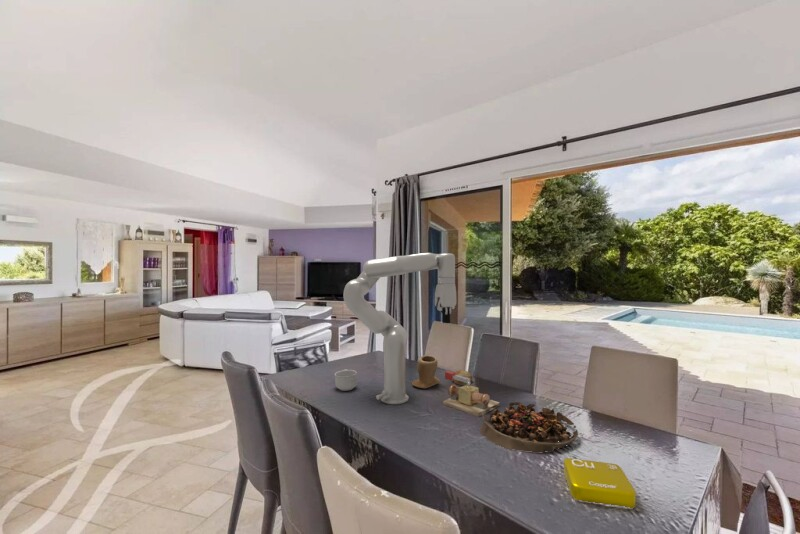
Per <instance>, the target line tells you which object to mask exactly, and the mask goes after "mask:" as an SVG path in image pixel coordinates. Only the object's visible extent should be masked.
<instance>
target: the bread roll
mask: <svg viewBox="0 0 800 534" xmlns="http://www.w3.org/2000/svg"><path fill="white" fill-rule="evenodd" d="M455 373H456V375H459V376H462V377H466V378H470V385H472V383H473V380H474V379H473V376H472V374H471V373H470V372H469V371H467V370H463V369H459V370H458V371H455ZM452 382H453V383H452V384H454V385H456V386H458V385H459V386H465V385H467V383H465V382H462V381H458V380H453V381H452Z"/></svg>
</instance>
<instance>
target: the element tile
mask: <svg viewBox="0 0 800 534" xmlns="http://www.w3.org/2000/svg"><path fill="white" fill-rule="evenodd" d="M564 473H565V475H564V478H565V477H566V478H565V481H566V480H567V482H566V484H567V483H568V485H567V487H568V486H569V488H568V490H569V489H570V491H569V494H570V493H571V494H570V496H571V495H572V496H573V497H574V498H575V499H577V500H582V501H588V502H595V503H604V504H611V505H619V506H625V507H630V508H633V507H635V508H636V503H637V502H636V496H637V495H636V494H637V493H636V490H635V488H634V487H633V486H632V483H631V482H630V481H629V478H628V477H627V476H626V473H625V472H624V471H623V469H622V467H621V466H620V465H618V464H617V463H612V462H611V463H610V462H604V461H603V462H601V461H594V460H587V459H581V458H580V459H578V458H571V457H570V458H569V457H566V458H565V459H564V460H563V474H564Z"/></svg>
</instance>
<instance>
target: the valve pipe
mask: <svg viewBox="0 0 800 534" xmlns="http://www.w3.org/2000/svg"><path fill="white" fill-rule="evenodd" d="M448 394H449V395H450V398H451V399H453V400H458V399H459V402H461V403H464V404H467V405H470V406H471V405H473V404H475V403H478V408H481V409H486V408H488V404H489V402H490V400H491V397H490V395H489V394H488V393H480V392H479V387H477V386H473V385H472V384H470V386H467V385H461V386H458V385H457V384H455V383H452V384H450V386H449V387H448Z"/></svg>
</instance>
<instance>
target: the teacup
mask: <svg viewBox="0 0 800 534" xmlns="http://www.w3.org/2000/svg"><path fill="white" fill-rule="evenodd" d="M334 382H335V387H336V388H337V389H338V390H339V391H343V392H347V391H351V390H353V389H354V388H355V387H356V386H357V384H358V372H357V371H356V370H355V369H346V368H345V369H343V370H338V371H336V372H335V373H334Z"/></svg>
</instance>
